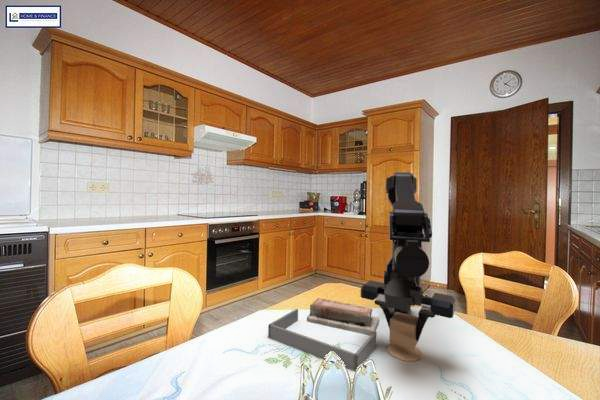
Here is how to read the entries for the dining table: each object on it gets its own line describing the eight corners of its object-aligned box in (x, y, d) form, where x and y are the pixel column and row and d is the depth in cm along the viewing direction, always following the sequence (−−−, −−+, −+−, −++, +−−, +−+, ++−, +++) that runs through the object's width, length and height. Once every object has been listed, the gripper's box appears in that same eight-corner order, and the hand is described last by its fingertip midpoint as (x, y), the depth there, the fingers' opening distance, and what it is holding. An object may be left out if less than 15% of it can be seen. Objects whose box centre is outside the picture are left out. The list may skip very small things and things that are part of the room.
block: (395, 333, 65) (396, 311, 65) (418, 339, 62) (419, 317, 62) (389, 342, 61) (390, 319, 61) (413, 349, 58) (414, 325, 58)
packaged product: (305, 305, 76) (318, 293, 85) (305, 323, 76) (318, 309, 85) (374, 318, 68) (380, 304, 77) (373, 338, 68) (379, 321, 77)
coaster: (392, 340, 66) (392, 338, 66) (424, 350, 62) (424, 348, 62) (383, 354, 61) (383, 352, 61) (417, 365, 57) (417, 363, 57)
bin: (296, 319, 76) (296, 308, 76) (376, 345, 64) (376, 332, 64) (268, 337, 67) (268, 324, 67) (356, 371, 54) (356, 355, 54)
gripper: (351, 265, 60) (349, 338, 60) (450, 282, 49) (448, 370, 50) (369, 256, 69) (368, 319, 69) (456, 268, 59) (454, 343, 59)
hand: (404, 335), depth 62 cm, fingers closed on block, 5 cm apart
